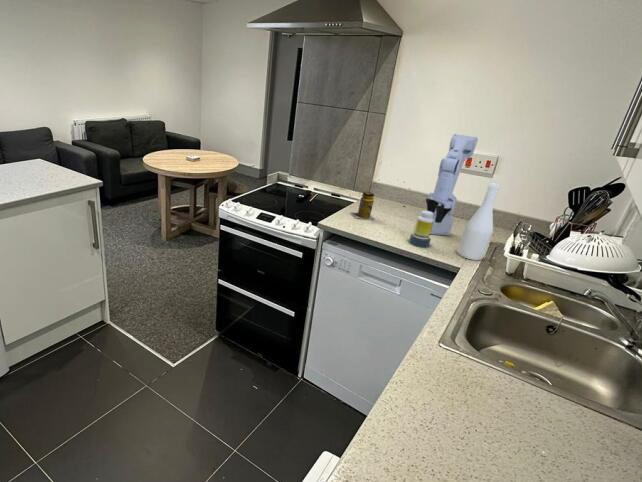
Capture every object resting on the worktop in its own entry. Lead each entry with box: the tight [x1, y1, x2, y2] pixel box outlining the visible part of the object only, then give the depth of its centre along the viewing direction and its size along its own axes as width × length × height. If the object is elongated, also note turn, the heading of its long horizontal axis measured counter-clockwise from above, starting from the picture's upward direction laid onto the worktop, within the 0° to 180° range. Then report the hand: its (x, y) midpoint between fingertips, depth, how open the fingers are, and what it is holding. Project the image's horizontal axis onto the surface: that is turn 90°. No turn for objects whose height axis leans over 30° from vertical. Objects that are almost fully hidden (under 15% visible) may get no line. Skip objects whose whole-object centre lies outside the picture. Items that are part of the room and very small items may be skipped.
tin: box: [408, 233, 431, 248], centre depth 165 cm, size 8×8×3 cm
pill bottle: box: [412, 210, 434, 239], centre depth 162 cm, size 6×6×11 cm
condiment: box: [351, 191, 375, 220], centre depth 190 cm, size 7×8×12 cm
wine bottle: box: [457, 182, 501, 261], centre depth 152 cm, size 10×10×30 cm
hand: (433, 219), depth 164 cm, fingers open, 7 cm apart
